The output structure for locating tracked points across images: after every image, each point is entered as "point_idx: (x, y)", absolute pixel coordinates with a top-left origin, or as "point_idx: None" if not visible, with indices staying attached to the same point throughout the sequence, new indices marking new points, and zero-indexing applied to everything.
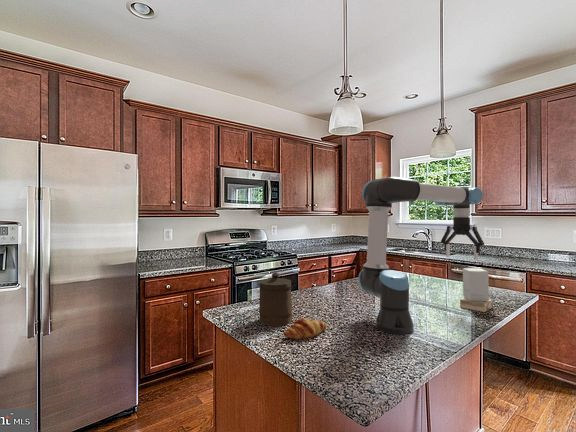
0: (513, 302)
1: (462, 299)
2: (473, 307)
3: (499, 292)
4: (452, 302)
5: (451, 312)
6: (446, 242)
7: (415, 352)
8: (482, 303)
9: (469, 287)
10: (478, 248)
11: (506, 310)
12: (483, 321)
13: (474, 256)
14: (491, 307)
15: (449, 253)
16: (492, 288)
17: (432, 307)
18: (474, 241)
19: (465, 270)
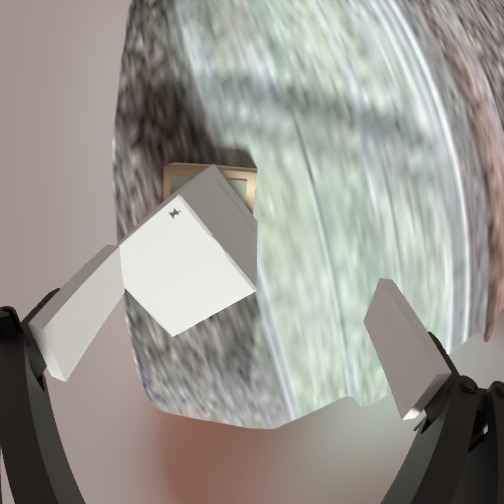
0: (152, 332)
1: (248, 176)
2: (207, 165)
3: (215, 401)
4: (298, 216)
5: (261, 78)
6: (458, 397)
7: None
8: (170, 168)
9: (206, 176)
10: (29, 318)
11: None
12: (151, 59)
13: (101, 260)
14: None
15: (375, 334)
16: (241, 422)
17: (337, 98)
18: (3, 383)
19: (228, 250)
